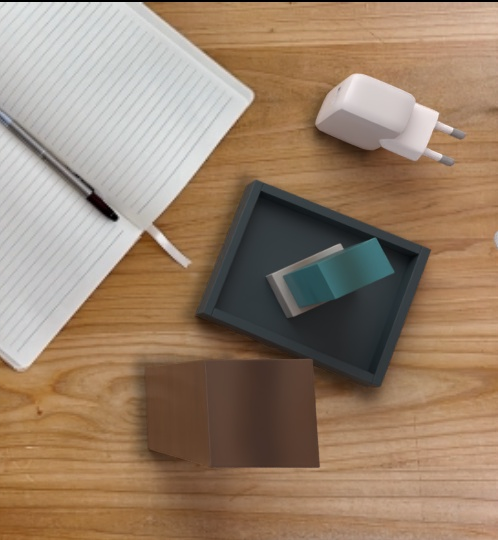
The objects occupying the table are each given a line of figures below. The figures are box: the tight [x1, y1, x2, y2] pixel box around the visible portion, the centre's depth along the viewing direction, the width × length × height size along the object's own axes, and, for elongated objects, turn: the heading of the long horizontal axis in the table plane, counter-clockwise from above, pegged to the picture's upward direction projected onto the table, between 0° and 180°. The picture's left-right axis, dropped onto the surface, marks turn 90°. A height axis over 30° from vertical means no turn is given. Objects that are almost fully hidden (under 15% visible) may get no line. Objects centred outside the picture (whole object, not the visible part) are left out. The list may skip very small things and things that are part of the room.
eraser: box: [266, 238, 394, 318], centre depth 70 cm, size 6×4×8 cm, turn 114°
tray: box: [194, 179, 432, 388], centre depth 74 cm, size 16×13×2 cm
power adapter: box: [314, 73, 467, 167], centre depth 73 cm, size 11×5×6 cm, turn 65°
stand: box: [144, 358, 321, 469], centre depth 65 cm, size 7×7×18 cm
